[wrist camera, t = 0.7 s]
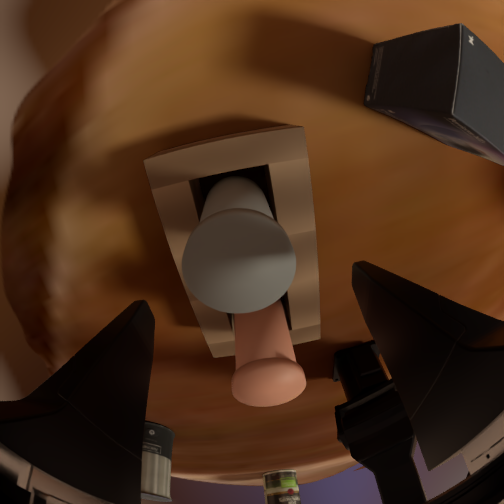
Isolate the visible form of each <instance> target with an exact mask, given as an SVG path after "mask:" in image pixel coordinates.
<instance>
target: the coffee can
mask: <svg viewBox="0 0 504 504" xmlns="http://www.w3.org/2000/svg"><path fill="white" fill-rule="evenodd" d="M262 476H263V483H264V493H265V504H301V501H300V495H299V489H298V482H297V476H296V470H277V471H271V472H267V473H264V474H263V475H262Z"/></svg>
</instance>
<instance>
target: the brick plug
mask: <svg viewBox="0 0 504 504" xmlns="http://www.w3.org/2000/svg"><path fill="white" fill-rule="evenodd" d="M234 327H235V357H236V371H235V373H234V374H233V376H232V394H233V396H234V397H235V398H236V399H237V400H238V401H240V402H242V403H244V404H247V405H251V406H260V407H265V406H274V405H279V404H283V403H286V402H288V401H290V400H292V399H294V398H296V397H297V396H298V395H300V394H301V393H302V392H303V390H304V389H305V386H306V379H305V375H304V371H303V369H302V367H301V366H300V365H299V364H298V363H297V362H296V358H295V354H294V350H293V346H292V342H291V338H290V334H289V330H288V326H287V322H286V318H285V314H284V309H283V305H282V302H281V299H280V298H279V299H278V300H277V301H276V302H274V303H273V304H271V305H269V306H268V307H265V308H263V309H261V310H258V311H254V312H250V313H234Z"/></svg>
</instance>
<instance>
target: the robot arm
mask: <svg viewBox="0 0 504 504" xmlns="http://www.w3.org/2000/svg"><path fill="white" fill-rule="evenodd" d="M352 287H353V290H354V293H355V295H356V298H357V301H358V303H359V306H360V309H361V311H362V314H363V317H364V319H365V322H366V324H367V326H368V328H369V330H370V332H371V334H372V336H373V338H374V342H371V343H368V344H365V345H361V346H358V347H354V348H350V349H347V350H343V351H339V352H337V353H335V354H334V366H333V378H332V379H333V381H334V382H337V381H341V383H342V386H343V389H344V392H345V395H346V398H347V401H348V402H345V403H343V404H341V405H337V406H335V418H336V424H337V439H338V441H339V442H341V443H343V445H344V446H345V448H346V449H347V450H350V453H351V456H352V457H353V458H354V459H355V460H356V461H358V462H359V463H360V464H362V465H363V466H365V467H366V468H368V469H369V470H370V471H372V472H373V473H374V475H375V478H376V482H377V485H378V489H379V492H380V496H381V499H382V503H383V504H504V321H501V320H498V319H496V318H493V317H491V316H488V315H486V314H483V313H481V312H478V311H476V310H473V309H471V308H468V307H466V306H463V305H461V304H458V303H456V302H454V301H452V300H450V299H448V298H445V297H443V296H441V295H439V294H437V293H435V292H433V291H431V290H429V289H426V288H424V287H422V286H420V285H418V284H416V283H413V282H411V281H409V280H407V279H405V278H402V277H400V276H398V275H396V274H394V273H391V272H389V271H387V270H385V269H382V268H380V267H378V266H376V265H373V264H371V263H369V262H366V261H359V262H354V263H353V266H352ZM154 330H155V319H154V316H153V314H152V312H151V310H150V307H149V305H148V303H147V302H146V301H145V300H137V301H134V302H133V303H132V304H131V305H129V306H128V307H127V308H126V309H125V310H124V311H123V312H121V313H120V314H119V315H118V316H117V317H116V318H115V319H114V320H112V321H111V322H110V323H109V324H108V325H107V326H106V327H105V328H103V329H102V330H101V331H100V332H99V333H98V334H97V335H96V336H95V337H94V338H92V339H91V340H90V341H89V342H88V343H87V344H86V345H85V346H84V347H83V348H82V349H81V350H79V351H78V352H77V353H76V354H75V356H73V357H72V358H71V359H70V360H69V361H68V362H67V363H65V364H64V365H63V366H62V367H61V368H60V369H59V370H58V371H57V372H55V373H54V374H53V375H52V376H51V377H50V378H48V379H47V380H46V381H45V382H44V383H42V384H41V385H40V386H39V387H38V388H37V389H35V390H34V391H33V392H32V393H31V394H29V395H28V396H27V397H25V398H23V399H20V400H16V401H0V504H141V474H142V461H141V460H142V452H143V438H144V426H145V416H146V407H147V398H148V390H149V382H150V375H151V368H152V361H153V349H154ZM380 353H381V355H382V357H383V359H384V362H385V364H386V366H387V368H388V370H389V372H390V375H391V377H392V379H390V380H389V379H388V377H387V375H386V373H385V371H384V368H383V366H382V364H381V362H380V360H379V354H380ZM417 441H418V443H419V446H420V449H421V452H422V454H423V457H424V460H425V463H426V466H427V469H428V471H431V470H433V469H434V468H436V467H438V466H440V465H442V464H444V463H445V462H447V461H449V460H450V459H452V458H454V457H455V456H457V455H458V454H460V453H462V454H463V457H464V459H465V462H466V464H467V467H468V469H469V472H468V475H467V477H466V479H464V480H463V481H461V482H459V483H458V484H456V485H455V486H453V487H451V488H450V489H448V490H447V491H445V492H443V493H441V494H440V495H438V496H436V497H434V498H432V499H430V500H427V497H426V494H425V491H424V488H423V485H422V482H421V479H420V476H419V474H418V471H417V468H416V465H415V462H414V459H413V457H414V452H415V448H416V444H417Z"/></svg>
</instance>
